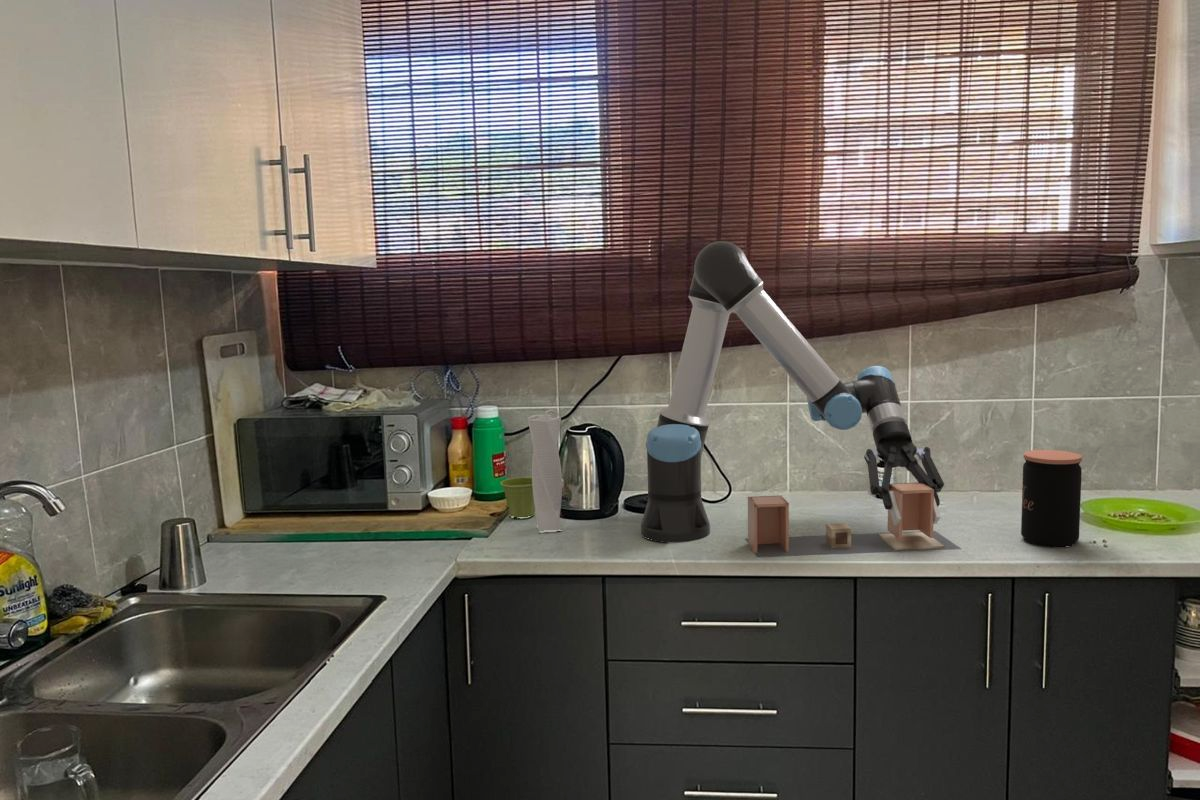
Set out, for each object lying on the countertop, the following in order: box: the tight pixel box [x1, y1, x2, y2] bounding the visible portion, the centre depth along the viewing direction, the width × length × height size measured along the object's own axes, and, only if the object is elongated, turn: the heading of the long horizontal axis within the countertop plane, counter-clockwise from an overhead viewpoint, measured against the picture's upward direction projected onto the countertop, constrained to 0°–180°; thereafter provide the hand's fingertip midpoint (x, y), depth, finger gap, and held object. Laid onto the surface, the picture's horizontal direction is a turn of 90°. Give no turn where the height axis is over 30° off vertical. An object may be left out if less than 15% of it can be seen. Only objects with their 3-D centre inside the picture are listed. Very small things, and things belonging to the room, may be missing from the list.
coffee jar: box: [1020, 449, 1083, 548], centre depth 180 cm, size 11×11×18 cm
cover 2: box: [887, 482, 934, 539], centre depth 182 cm, size 7×6×10 cm
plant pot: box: [500, 477, 536, 517], centre depth 214 cm, size 9×9×9 cm
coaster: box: [878, 531, 945, 550], centre depth 183 cm, size 10×10×1 cm
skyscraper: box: [527, 409, 563, 532], centre depth 200 cm, size 8×8×28 cm
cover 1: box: [747, 495, 790, 554], centre depth 181 cm, size 7×6×10 cm
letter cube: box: [825, 522, 852, 548], centre depth 182 cm, size 4×4×4 cm
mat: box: [744, 530, 962, 558], centre depth 183 cm, size 41×13×1 cm, turn 92°
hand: (917, 521), depth 179 cm, fingers open, 7 cm apart
